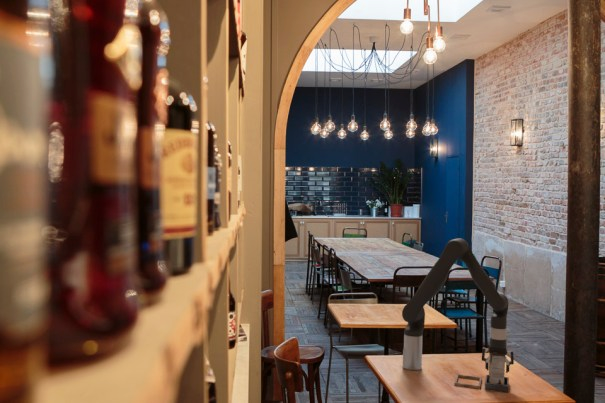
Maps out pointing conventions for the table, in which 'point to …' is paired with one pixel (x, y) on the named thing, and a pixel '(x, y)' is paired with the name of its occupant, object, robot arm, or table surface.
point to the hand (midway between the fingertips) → (497, 371)
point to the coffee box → (496, 368)
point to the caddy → (497, 387)
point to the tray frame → (468, 378)
